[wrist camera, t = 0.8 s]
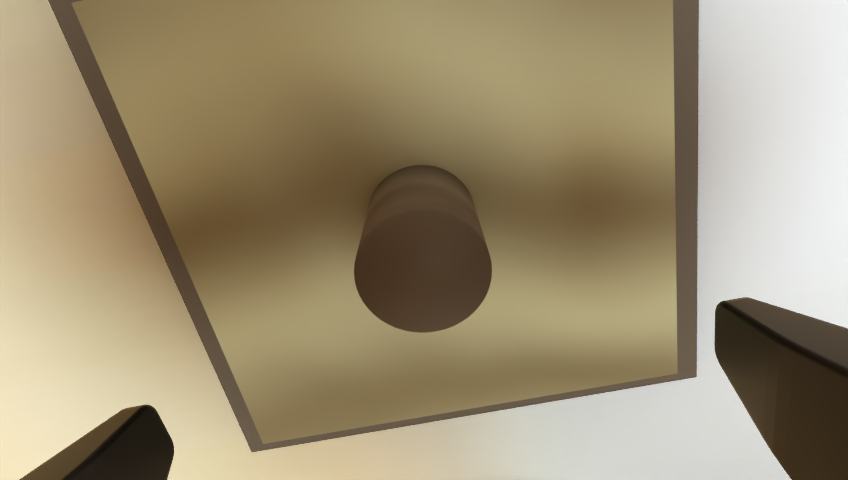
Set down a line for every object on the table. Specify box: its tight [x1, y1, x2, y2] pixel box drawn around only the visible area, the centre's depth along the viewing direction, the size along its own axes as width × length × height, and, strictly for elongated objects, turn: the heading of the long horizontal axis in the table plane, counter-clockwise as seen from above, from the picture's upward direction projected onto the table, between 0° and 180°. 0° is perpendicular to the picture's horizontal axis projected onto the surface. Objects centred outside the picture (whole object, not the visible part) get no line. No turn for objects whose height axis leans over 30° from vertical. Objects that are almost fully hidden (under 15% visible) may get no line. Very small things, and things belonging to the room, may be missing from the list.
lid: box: [72, 0, 678, 444], centre depth 13 cm, size 14×14×4 cm
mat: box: [48, 0, 699, 452], centre depth 15 cm, size 16×16×1 cm
